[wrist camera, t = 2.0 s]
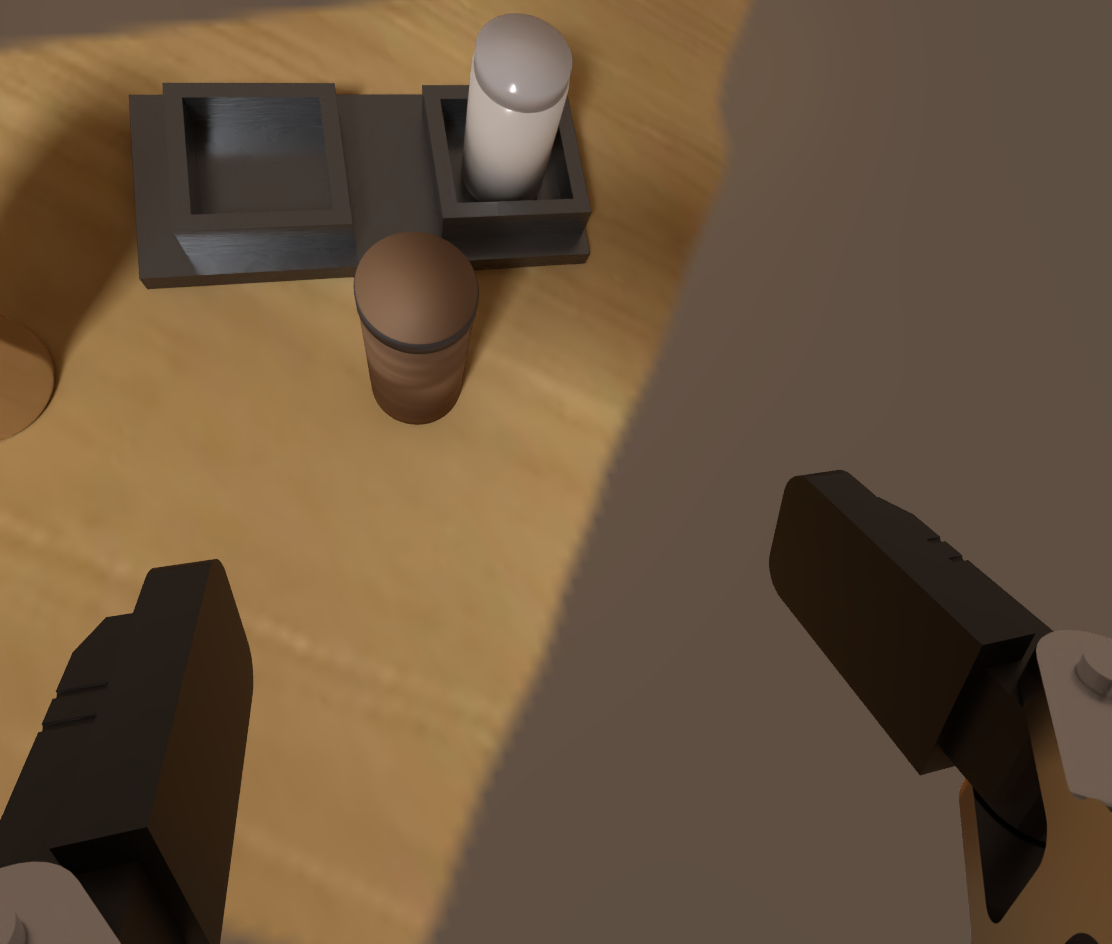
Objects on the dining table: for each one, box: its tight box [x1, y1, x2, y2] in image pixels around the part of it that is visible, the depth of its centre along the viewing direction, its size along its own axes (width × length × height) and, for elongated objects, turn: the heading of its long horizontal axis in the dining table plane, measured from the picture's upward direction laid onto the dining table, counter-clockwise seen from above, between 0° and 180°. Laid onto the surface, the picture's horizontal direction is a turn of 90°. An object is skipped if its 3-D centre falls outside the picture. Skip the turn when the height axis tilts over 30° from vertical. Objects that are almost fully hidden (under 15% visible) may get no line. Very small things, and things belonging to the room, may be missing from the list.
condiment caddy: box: [129, 83, 591, 289], centre depth 35 cm, size 22×10×3 cm, turn 101°
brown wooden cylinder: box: [354, 232, 479, 425], centre depth 30 cm, size 4×4×10 cm
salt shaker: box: [461, 13, 572, 202], centre depth 33 cm, size 4×4×8 cm
